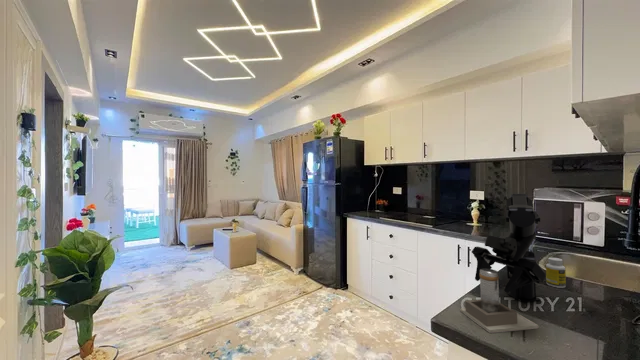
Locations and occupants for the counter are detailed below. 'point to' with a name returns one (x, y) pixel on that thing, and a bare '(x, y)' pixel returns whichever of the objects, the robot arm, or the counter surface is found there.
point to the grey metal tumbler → (489, 290)
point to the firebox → (496, 318)
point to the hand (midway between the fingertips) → (490, 285)
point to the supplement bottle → (555, 273)
